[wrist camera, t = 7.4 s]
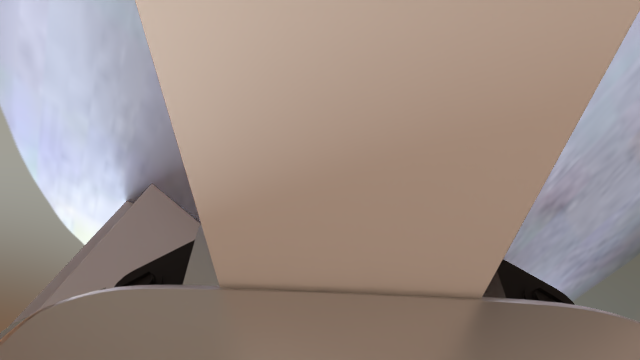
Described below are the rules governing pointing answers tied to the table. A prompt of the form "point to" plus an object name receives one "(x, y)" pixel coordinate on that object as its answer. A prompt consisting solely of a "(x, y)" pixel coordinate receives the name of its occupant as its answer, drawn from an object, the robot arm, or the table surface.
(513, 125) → the cream rectangular block
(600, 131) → the table surface
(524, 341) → the robot arm
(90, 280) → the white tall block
